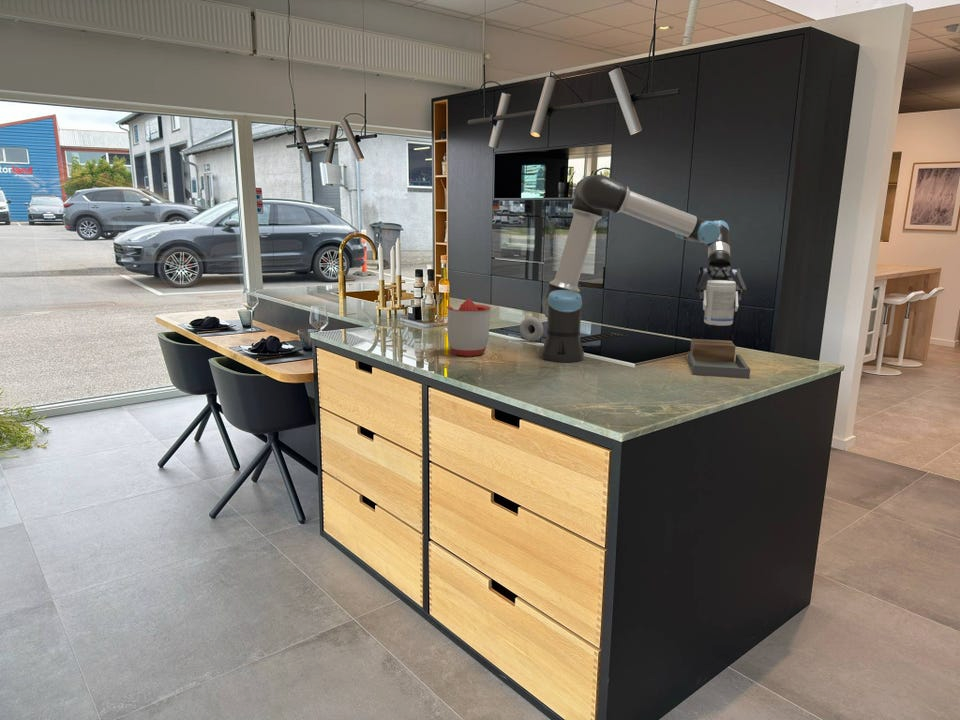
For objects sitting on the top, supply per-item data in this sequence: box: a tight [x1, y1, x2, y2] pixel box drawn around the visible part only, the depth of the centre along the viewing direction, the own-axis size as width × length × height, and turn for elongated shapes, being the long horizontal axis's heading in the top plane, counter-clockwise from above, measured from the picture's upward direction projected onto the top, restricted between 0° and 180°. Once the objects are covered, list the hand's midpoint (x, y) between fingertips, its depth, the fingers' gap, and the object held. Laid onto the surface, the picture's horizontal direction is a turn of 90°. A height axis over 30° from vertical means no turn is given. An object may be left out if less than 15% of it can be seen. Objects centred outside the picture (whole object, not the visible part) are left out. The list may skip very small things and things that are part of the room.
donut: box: [519, 316, 544, 343], centre depth 268 cm, size 10×4×10 cm, turn 60°
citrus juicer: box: [446, 298, 491, 357], centre depth 244 cm, size 16×17×20 cm
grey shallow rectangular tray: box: [686, 351, 751, 379], centre depth 229 cm, size 22×17×3 cm
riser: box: [689, 338, 736, 362], centre depth 243 cm, size 10×14×6 cm
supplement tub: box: [703, 279, 737, 327], centre depth 233 cm, size 10×10×15 cm
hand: (720, 308), depth 230 cm, fingers closed on supplement tub, 9 cm apart
